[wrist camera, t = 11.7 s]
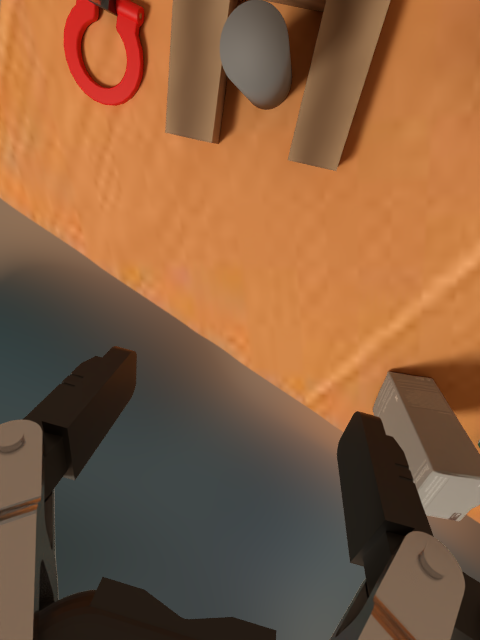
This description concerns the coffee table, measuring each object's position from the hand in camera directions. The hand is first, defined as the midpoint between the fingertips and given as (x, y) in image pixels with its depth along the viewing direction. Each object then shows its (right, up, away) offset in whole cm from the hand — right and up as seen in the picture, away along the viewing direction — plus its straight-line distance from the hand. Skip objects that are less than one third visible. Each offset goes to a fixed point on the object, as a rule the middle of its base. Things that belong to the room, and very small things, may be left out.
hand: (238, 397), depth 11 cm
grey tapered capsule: (+3, +27, +20) cm, 33 cm away
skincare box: (+24, -8, +35) cm, 43 cm away
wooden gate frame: (+3, +27, +19) cm, 33 cm away
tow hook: (-14, +31, +21) cm, 40 cm away
